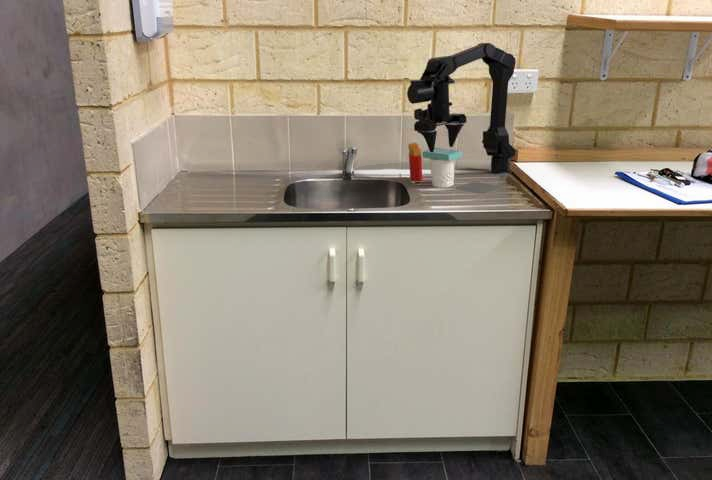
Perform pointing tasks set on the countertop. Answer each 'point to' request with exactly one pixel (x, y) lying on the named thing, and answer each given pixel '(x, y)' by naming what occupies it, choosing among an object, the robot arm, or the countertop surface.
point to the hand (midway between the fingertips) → (441, 149)
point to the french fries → (415, 162)
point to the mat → (478, 187)
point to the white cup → (442, 172)
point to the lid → (442, 154)
